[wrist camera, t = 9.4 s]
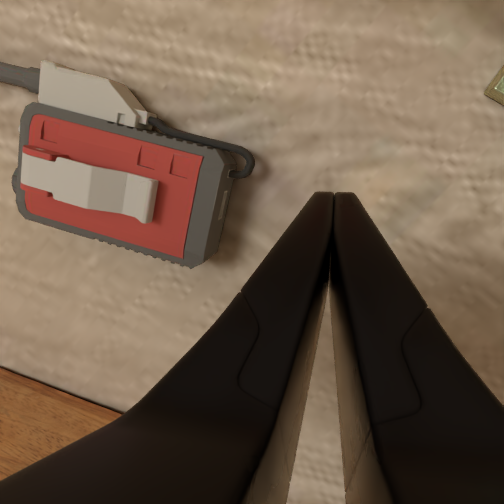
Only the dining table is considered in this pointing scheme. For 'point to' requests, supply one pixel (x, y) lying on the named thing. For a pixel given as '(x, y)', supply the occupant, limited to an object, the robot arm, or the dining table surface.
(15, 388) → the wooden box
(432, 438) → the robot arm
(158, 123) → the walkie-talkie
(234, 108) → the dining table surface
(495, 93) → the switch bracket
